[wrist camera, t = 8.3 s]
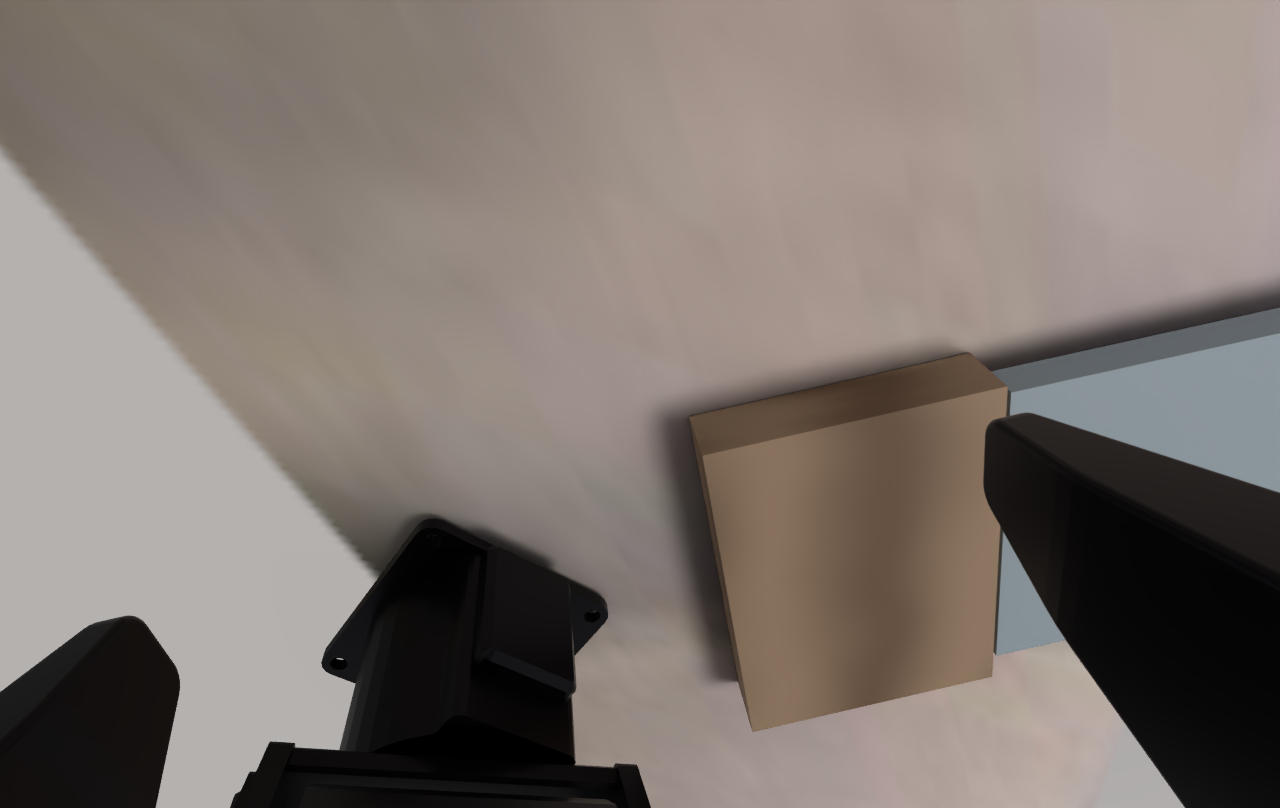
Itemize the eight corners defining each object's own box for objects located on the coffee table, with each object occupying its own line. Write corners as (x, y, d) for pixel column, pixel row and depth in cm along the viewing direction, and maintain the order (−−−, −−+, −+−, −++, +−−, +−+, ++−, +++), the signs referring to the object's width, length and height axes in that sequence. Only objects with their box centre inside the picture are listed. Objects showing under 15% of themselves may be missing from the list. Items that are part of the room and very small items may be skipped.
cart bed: (738, 683, 27) (752, 731, 25) (688, 416, 22) (702, 455, 20) (962, 631, 27) (992, 676, 26) (969, 352, 22) (1007, 386, 20)
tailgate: (996, 655, 26) (1296, 589, 26) (1011, 392, 21) (1384, 309, 21) (969, 615, 27) (1253, 552, 27) (978, 362, 22) (1324, 285, 22)
